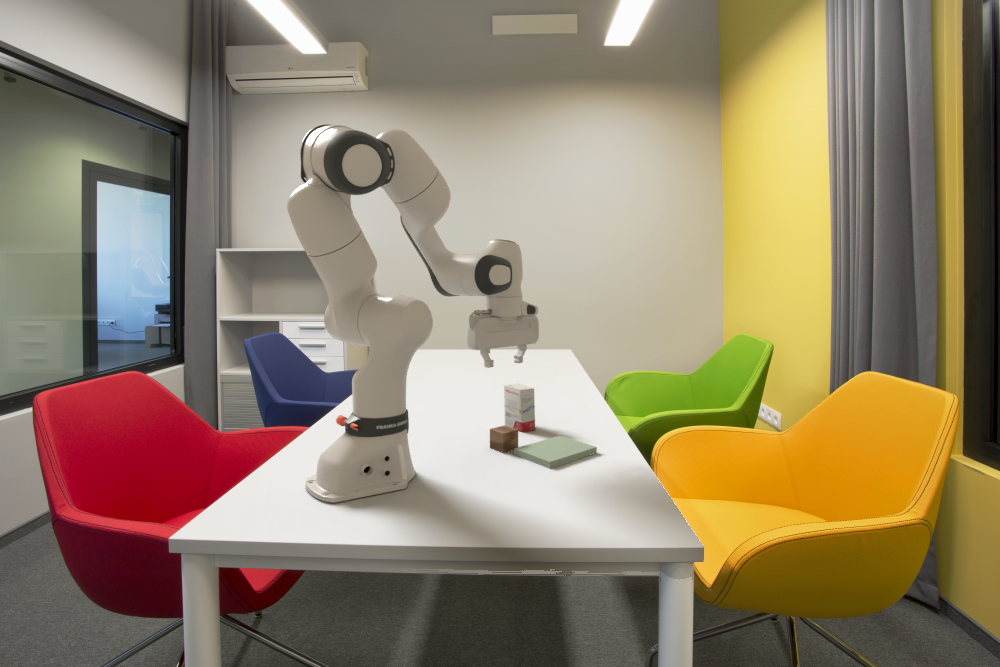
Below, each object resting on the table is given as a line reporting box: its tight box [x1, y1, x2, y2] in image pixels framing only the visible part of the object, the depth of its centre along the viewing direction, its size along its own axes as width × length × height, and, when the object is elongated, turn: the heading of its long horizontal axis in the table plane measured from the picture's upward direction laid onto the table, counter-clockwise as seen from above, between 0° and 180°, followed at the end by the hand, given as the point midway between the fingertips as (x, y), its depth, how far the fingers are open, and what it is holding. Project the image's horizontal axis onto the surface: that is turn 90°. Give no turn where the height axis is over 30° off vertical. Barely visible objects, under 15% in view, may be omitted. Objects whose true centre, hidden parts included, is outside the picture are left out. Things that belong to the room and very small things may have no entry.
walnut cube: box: [489, 424, 519, 454], centre depth 134 cm, size 5×5×5 cm
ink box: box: [503, 383, 536, 433], centre depth 151 cm, size 9×5×12 cm, turn 34°
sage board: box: [513, 435, 598, 469], centre depth 130 cm, size 16×12×2 cm
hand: (504, 364), depth 132 cm, fingers open, 8 cm apart
